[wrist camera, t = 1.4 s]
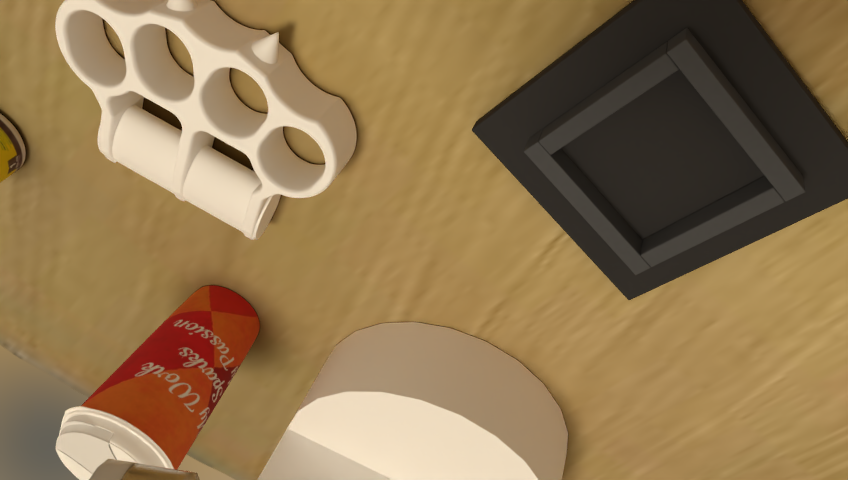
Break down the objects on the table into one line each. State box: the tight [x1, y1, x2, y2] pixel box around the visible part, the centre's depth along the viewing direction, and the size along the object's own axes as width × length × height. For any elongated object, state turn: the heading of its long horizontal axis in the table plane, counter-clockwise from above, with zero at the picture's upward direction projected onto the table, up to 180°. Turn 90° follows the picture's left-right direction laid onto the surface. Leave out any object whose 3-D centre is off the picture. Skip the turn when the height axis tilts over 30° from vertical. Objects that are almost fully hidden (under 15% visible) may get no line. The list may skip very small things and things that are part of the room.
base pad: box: [472, 0, 848, 300], centre depth 36 cm, size 14×14×2 cm
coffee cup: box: [56, 285, 260, 480], centre depth 51 cm, size 8×8×15 cm
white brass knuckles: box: [55, 0, 357, 240], centre depth 43 cm, size 3×18×15 cm
